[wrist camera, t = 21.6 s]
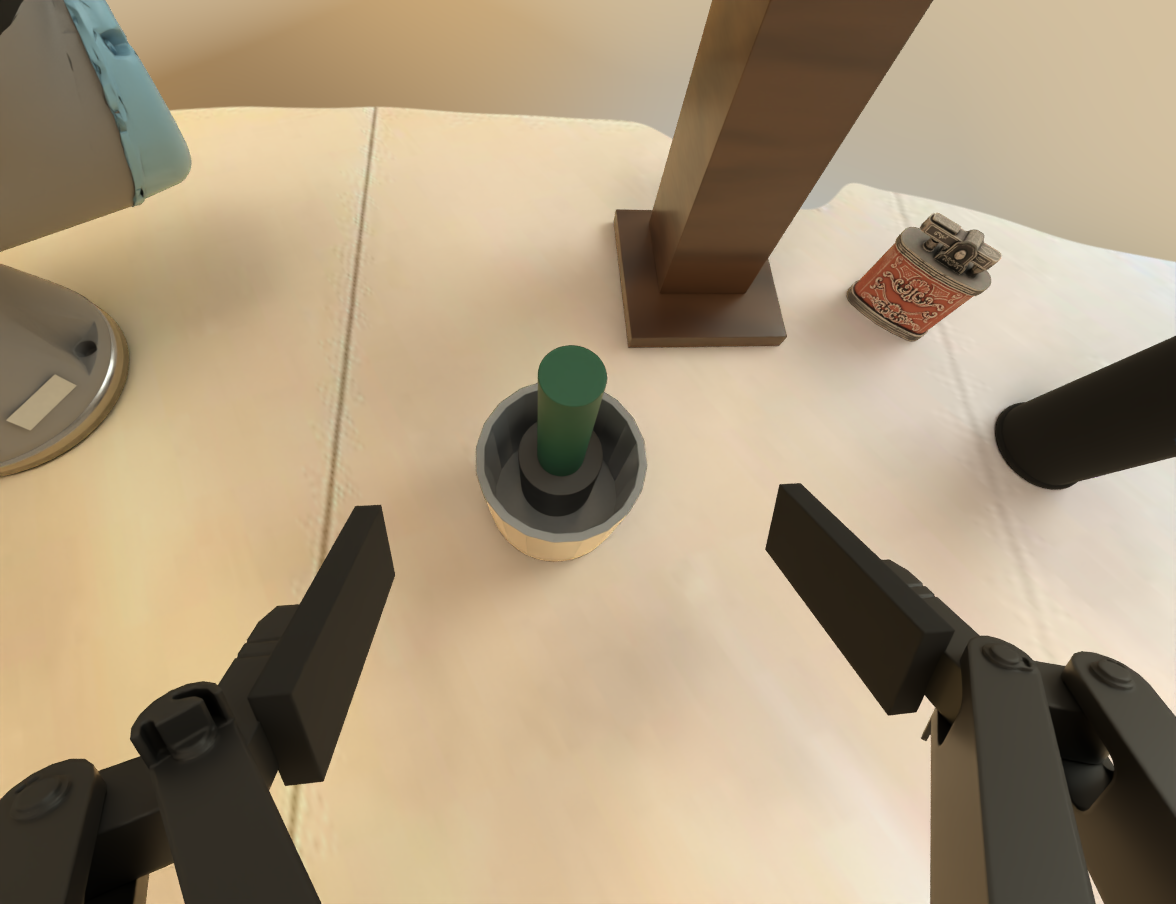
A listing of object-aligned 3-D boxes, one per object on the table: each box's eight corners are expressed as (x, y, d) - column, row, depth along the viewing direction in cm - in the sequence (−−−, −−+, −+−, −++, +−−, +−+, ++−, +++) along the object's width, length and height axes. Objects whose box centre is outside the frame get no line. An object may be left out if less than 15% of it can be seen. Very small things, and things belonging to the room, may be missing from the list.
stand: (780, 350, 44) (1276, -198, 14) (628, 352, 42) (842, -264, 13) (749, 220, 49) (1075, -388, 19) (613, 217, 47) (741, -454, 18)
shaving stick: (641, 431, 20) (627, 321, 22) (511, 435, 20) (507, 321, 21) (594, 514, 36) (589, 447, 38) (522, 518, 36) (520, 449, 37)
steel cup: (463, 514, 36) (439, 479, 27) (538, 413, 39) (538, 352, 30) (576, 588, 35) (590, 577, 26) (643, 477, 38) (675, 434, 29)
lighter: (927, 325, 46) (1026, 250, 37) (914, 348, 45) (1012, 277, 36) (855, 278, 47) (934, 194, 38) (840, 300, 46) (918, 218, 37)
